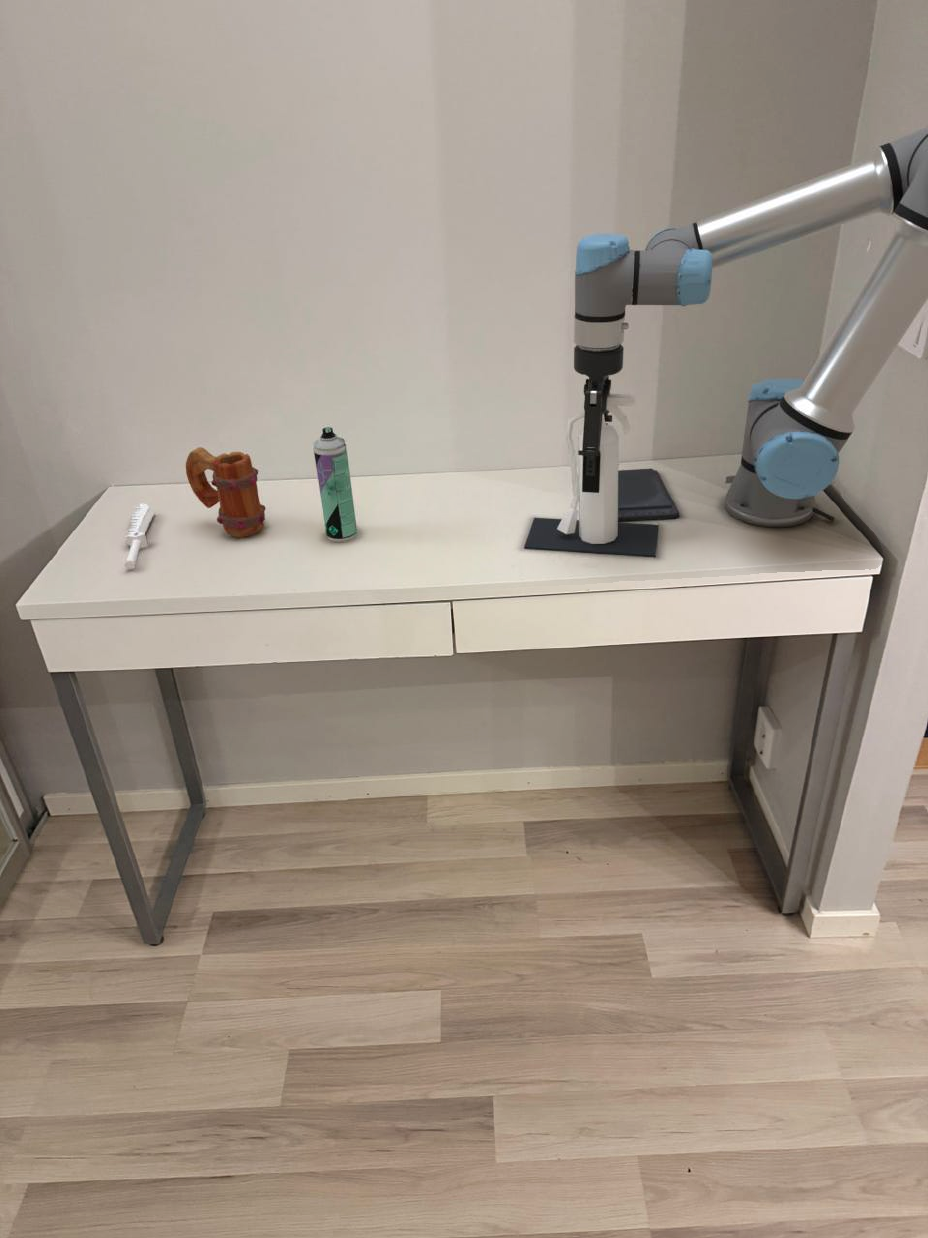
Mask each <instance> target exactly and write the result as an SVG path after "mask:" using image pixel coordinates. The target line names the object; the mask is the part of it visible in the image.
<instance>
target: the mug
mask: <svg viewBox="0 0 928 1238" xmlns="http://www.w3.org/2000/svg"><path fill="white" fill-rule="evenodd" d="M207 470H210V471H213V472H212V476H211V477H212V480H211V481H210V482H209V480H208V478H207V475H206V471H207ZM185 473H186V477H187V480H188V483H189V486H190V488H191V490H192V492H193V494H194V495H195V496H196V497H197V499H198V501H200V502H201V504H203V505H204V506H205V508H207V509H210V508H212V507H214V506H215V505H217V504H218V503H219V508H218V516H217V517H216V522H217V523H218V524H221V525H222V528H223V530H224V531H225V533H227V534H228V535H230V536H233V537H239V538H240V537H243V538H244V537H248V536H251V535H254V534H255V533H257V532H259V531H260V530H261V529H263V528H264V525H265V524H264V522H265V520H266V513H265V511H266V506H265V505H264V504H261V502H260V498H259V497H260V496H259V489H258V484H257V483H258V475H259V470H258V468H255V467H254V466H253V463H252V459H251V456H250V455H249V454H248V453H244V452H242V451H231V452H230V453H225V452H224V453H222V454H219V455H217V456H215V455H213V454H211V453H210V452H209V451H208V450H207V449H206V448H205V447H201V446H199V447H196V448H195V449H193V450H191V451H190V452H189V454H188V456H187V457H186V461H185ZM210 483H211V484H210ZM213 486H214V487H215V488H214V487H213Z"/></svg>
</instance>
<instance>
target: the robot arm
mask: <svg viewBox="0 0 928 1238" xmlns="http://www.w3.org/2000/svg"><path fill="white" fill-rule="evenodd" d="M877 213H881V214H883V215H885V216H887V217H890V216H892V219H893V223H894V233H893V234H892V237H891V238H890V239H889V240H888V243H887V244H886V246H885V248H884V249H883V251H882V253H881V254H880V256H879V257H878V258H877V260H876V263H875V264H874V266H873V268H872V270H871V271H870V273H868V276H867V278H866V279H865V281H864V282H863V284H862V286H861V287H860V288H859V290H858V292H857V294H856V296H855V297H854V299H853V301H852V302H851V304H850V305H849V307H848V308H847V310H846V312H845V313H844V315H843V317H842V318H841V320H840V322H839V323H838V325H837V327H836V328H835V330H834V331H833V333H832V335H831V337H830V338H829V340H828V342H827V343H826V345H825V346H824V348H823V350H822V352H821V353H820V355H819V357H818V358H817V360H816V361H815V363H814V364H813V366H812V368H811V370H810V371H809V373H808V375H806V377H805V380H803V379H794V378H775V379H774V378H773V379H765V380H761V381H757V382H755V383H754V384H753V385H752V386H751V388H750V391H749V397H748V398H747V403H748V404H747V405H748V406H747V412H746V419H745V427H744V435H743V441H742V451H741V459H740V464H739V467H738V469H737V472H736V473H735V475H729V476H726V477H725V482H724V484H725V485H726V484H730V485H729V487H728V489H727V491H726V494H725V500H724V508H725V510H726V512H727V513H728V514H729V515H730V516H732V517H733V518H735V519H737V520H738V521H741V522H743V523H746V524H749V525H754V526H759V527H765V528H786V527H788V528H789V527H795V526H798V525H802V524H804V523H806V522H808V521H809V520H811V518H813V516H814V514H817V515H819V516H821V517H823V518H825V519H827V520H829V521H830V522H834V521H835V519H836V517H835V516H833V515H831V514H828V513H826V512H825V511H823V510H820V509H818V508H816V497H815V495H817V494H820V493H821V492H823V491H824V490H825V489H827V488H828V487H829V486H830V485H831V484H832V482H834V480H835V478H836V476H837V474H838V472H839V466H840V455H839V454H840V452H841V451H842V449H843V448H844V446H845V445H846V443H847V442H848V440H849V438H850V437H851V435H852V434H853V433H854V431H855V429H856V425H855V422H854V417H853V413H855V410H856V409H857V408H858V406H859V404H860V403H861V401H862V400H863V398H864V397H865V395H866V393H868V391H869V389H870V387H872V385H873V383H874V381H875V380H876V379H877V377H878V375H879V373H880V372H881V371H882V370H883V368H884V366H885V365H886V363H887V362H888V360H889V358H890V357H891V356H892V354H893V353H894V352H895V350H896V348H897V346H898V345H899V344H900V342H901V340H903V337H904V335H905V334H906V333H907V331H908V330H909V328H910V327H911V325H912V324H913V322H914V321H915V319H916V318H917V316H918V314H919V313H920V312H921V310H922V309H923V307H924V305H925V304H926V302H927V301H928V126H926V127H923V128H921V129H918V130H916V131H914V132H910V133H909V134H906V135H904V136H902V137H899V138H897V139H895V140H892V141H890V142H887V143H885V144H882V145H879V146H877V147H875V148H874V149H873V150H872V153H871V155H870V156H869V157H868V158H866V159H865V158H864V159H861V160H859V161H856V162H855V163H852V164H849V165H847V166H843V167H841V168H838V169H836V170H833V171H830V172H827V173H825V174H822V175H819V176H816V177H813V178H811V179H809V180H805V181H803V182H801V183H798V184H795V185H793V186H789V187H787V188H784V189H782V190H781V189H780V190H779V191H776V192H773V193H770V194H768V195H764V196H762V197H760V198H757V199H754V200H752V201H749V202H746V203H743V204H741V205H737V206H735V207H733V208H730V209H727V210H724V211H721V212H719V213H717V214H713V215H711V216H708V217H706V218H703V219H700V220H697V221H695V222H692V223H690V224H686V225H684V226H681V227H678V228H675V227H667V228H663V229H660V230H659V231H657V232H656V233H654V234H653V235H652V237H651V238H650V239H649V241H648V242H647V244H646V247H645V249H644V250H635V249H630V248H631V247H630V246H629V243H630V242H629V239H628V237H626V236H625V235H622V234H617V233H615V234H613V233H597V234H591V235H587V236H584V237H582V238H581V239H580V240H579V242H578V243H577V245H576V254H575V255H576V258H575V271H574V272H575V273H574V316H573V317H574V319H573V322H574V323H573V325H574V326H573V343H574V344H575V347H574V348H573V369H574V371H575V372H576V373H578V374H580V375H583V376H586V377H588V378H586V379H585V383H584V385H583V395H584V400H583V401H584V402H583V412H585V415H584V418H583V419H584V420H583V428H584V431H583V447H582V451H581V450H578V449H577V456H578V455H582V456H583V471H582V492H589V493H599V488H600V460H601V453H600V440H601V428H602V417H603V414H604V419H605V424H607V425H609V423H612V422H613V414H609V413H610V412H609V411H608V410H607V409H606V408H607V398H608V396H609V394H611V390H612V379H610V376H613V375H617V374H619V373H620V372H621V371H622V370H623V367H624V346H623V345H622V344H623V343H624V341H625V330H628V329H629V328H630V324H629V322H625V317H626V306H681V307H687V306H693V305H694V306H695V305H703V304H705V303H706V302H707V301H708V300H709V298H710V294H711V288H712V278H713V270H715V269H717V268H720V267H723V266H726V265H729V264H732V263H735V262H738V261H741V260H743V259H746V258H747V259H748V258H750V257H752V256H755V255H756V256H757V255H758V254H760V253H764V252H767V251H770V250H773V249H775V248H779V247H782V246H785V245H787V244H790V243H793V242H796V241H799V240H802V239H805V238H807V237H811V236H813V235H816V234H819V233H822V232H825V231H827V230H830V229H833V228H836V227H839V226H842V225H845V224H848V223H851V222H853V221H856V220H860V219H862V218H865V217H869V216H871V215H874V214H877ZM587 447H592V448H587Z"/></svg>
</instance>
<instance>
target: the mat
mask: <svg viewBox="0 0 928 1238" xmlns="http://www.w3.org/2000/svg"><path fill="white" fill-rule="evenodd" d="M561 520H562V518H561V519H560V518H548V517H546V518H545V517H534V518H533V520H532V522H531V525H530V529H529V531H528V534H527V537H526V540H525V544H524V546H523V549H525V550H539V551H540V550H541V551H554V552H555V551H556V552H568V553H569V552H571V553H586V554H600V555H602V554H603V555H614V556H615V555H617V556H629V557H631V556H632V557H644V558H645V557H647V558H656V556H657V546H658V537H659V527H660V526H659V524H653V523H652V524H649V523H636V522H635V523H634V522H633V523H632V522H618V536H617V537H616V538H615V540H614V541H611V542H608V543H605V544H591V543H588V542H585V541H582V539H581V538H580V536H579V519H577V522H576V528H575V533H571V534H565V533H563V532H561V531H560V530H558V529H557V528H558V526H559V524H560V522H561Z"/></svg>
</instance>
